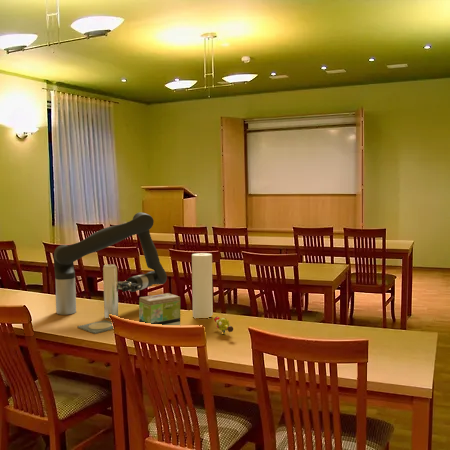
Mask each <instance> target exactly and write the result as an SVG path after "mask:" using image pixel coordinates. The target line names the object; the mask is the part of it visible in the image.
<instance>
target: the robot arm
mask: <svg viewBox="0 0 450 450" xmlns="http://www.w3.org/2000/svg"><path fill="white" fill-rule="evenodd" d="M154 222H155V221H154V218H153V217H152V215H150V214H148V213H145V212H136V213H135V214H134V215H133V216H132V219H131V220H129V221H127V222H124V223H121V224H114V225H111V226H107V227H104V228H102V229H99V230H97V231H95V232H93V233H92V234H90V235H88V236H87V237H86V238H84V239H82V240H80V241H78V242H75V243H73V244H69V245H67V244H60V245H58V246H56V248H55V249H54V252H53V264H54V265H53V266H54V267H53V268H54V270H53V271H54V278H55V279H54V280H55V312H56V314H57V315H62V316H63V315H67V316H68V315H72V314H75V313H77V293H76V270H75V267H74V266H75V265H74V262H77V261H78V260H79V259H82V258H83V257H85V256H87V255H89V254H93V253H95V252H96V253H97V252H99V251H101V250H103V249H106V248H109V247H111V246H114V245H115V244H118V243H120V242H122V241H123V240H126V239H127V238H130V237H132V236H135V235H137V236H138V239H139V242H140V244H141V245H140V246H141V248H142V252H143V255H144V260H145V264H146V267H147V268H148V269H151V270H152V271H148V272H146V273H144V274H138V275H133V276H130V277H128V278H127V279H126V280H124V281H120V280H119V281H117V282H118V290H121V291H122V292H123V293H124V292H129V291H130V292H131V293H133V292H138V291H142V290H144V289H146V288H150V287H152V286H153V285H164V284H166V282H167V280H168V275H167V273H166V271H165V269H164V267H163V265H162V264H161V262H160V257H159V254H158V253H159V252H158V250H157V247H156V246H155V243H154V242H153V239H152V235H151V232H150V230H151V229H152V228H153V225H154V224H155V223H154Z"/></svg>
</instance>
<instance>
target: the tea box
mask: <svg viewBox="0 0 450 450" xmlns="http://www.w3.org/2000/svg"><path fill="white" fill-rule="evenodd" d="M138 299H139V300H138V303H139V305H138V306H139V307H138V313H139V314H138V317H139V319H138V323H139V322H145V323H151V324H162V325H180V326H181V296H178V295H176V294H172V293H170V292H166V293H160V294H156V295H147V296H140V297H139V298H138Z"/></svg>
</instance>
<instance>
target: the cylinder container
mask: <svg viewBox="0 0 450 450" xmlns="http://www.w3.org/2000/svg"><path fill="white" fill-rule="evenodd" d="M191 281H192V282H191V284H192V286H191V287H192V294H191V295H192V318H193V317H194V319H196V318H208V317H211V316H212V315H214V314H213V313H214V311H213V307H214V306H213V304H214V303H213V254H212V253H209V252H208V253H207V252H200V253H199V252H196V253H192V254H191ZM208 319H209V318H208Z"/></svg>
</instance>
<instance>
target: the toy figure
mask: <svg viewBox="0 0 450 450" xmlns="http://www.w3.org/2000/svg"><path fill="white" fill-rule="evenodd" d="M213 321H214V322H215V323H216V329H218V330H220V331H221V333H222V332H223V334H225V335H226V330H227V332H229V333H232V332H234V327H233V326H231V325H230V324H231V323H230V321H229V320H228V318H226V317H219V316H215V317H214V320H213Z"/></svg>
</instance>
